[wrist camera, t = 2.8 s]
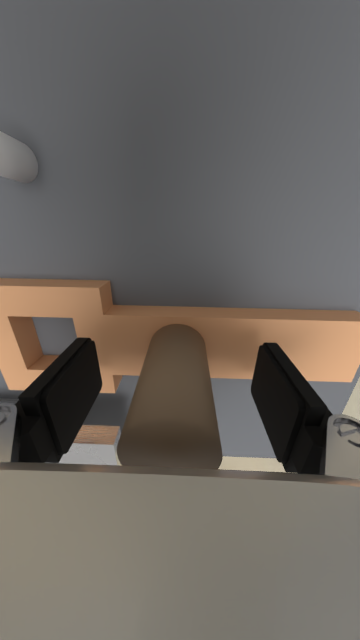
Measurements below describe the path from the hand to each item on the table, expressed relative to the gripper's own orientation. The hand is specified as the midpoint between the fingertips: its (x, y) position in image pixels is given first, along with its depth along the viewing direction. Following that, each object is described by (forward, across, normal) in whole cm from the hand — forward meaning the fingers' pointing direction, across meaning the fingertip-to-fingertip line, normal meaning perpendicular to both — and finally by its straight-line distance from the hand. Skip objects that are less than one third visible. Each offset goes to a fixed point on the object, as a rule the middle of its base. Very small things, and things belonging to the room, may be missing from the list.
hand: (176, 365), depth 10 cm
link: (+3, 0, 0) cm, 3 cm away
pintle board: (+5, +2, -2) cm, 5 cm away
